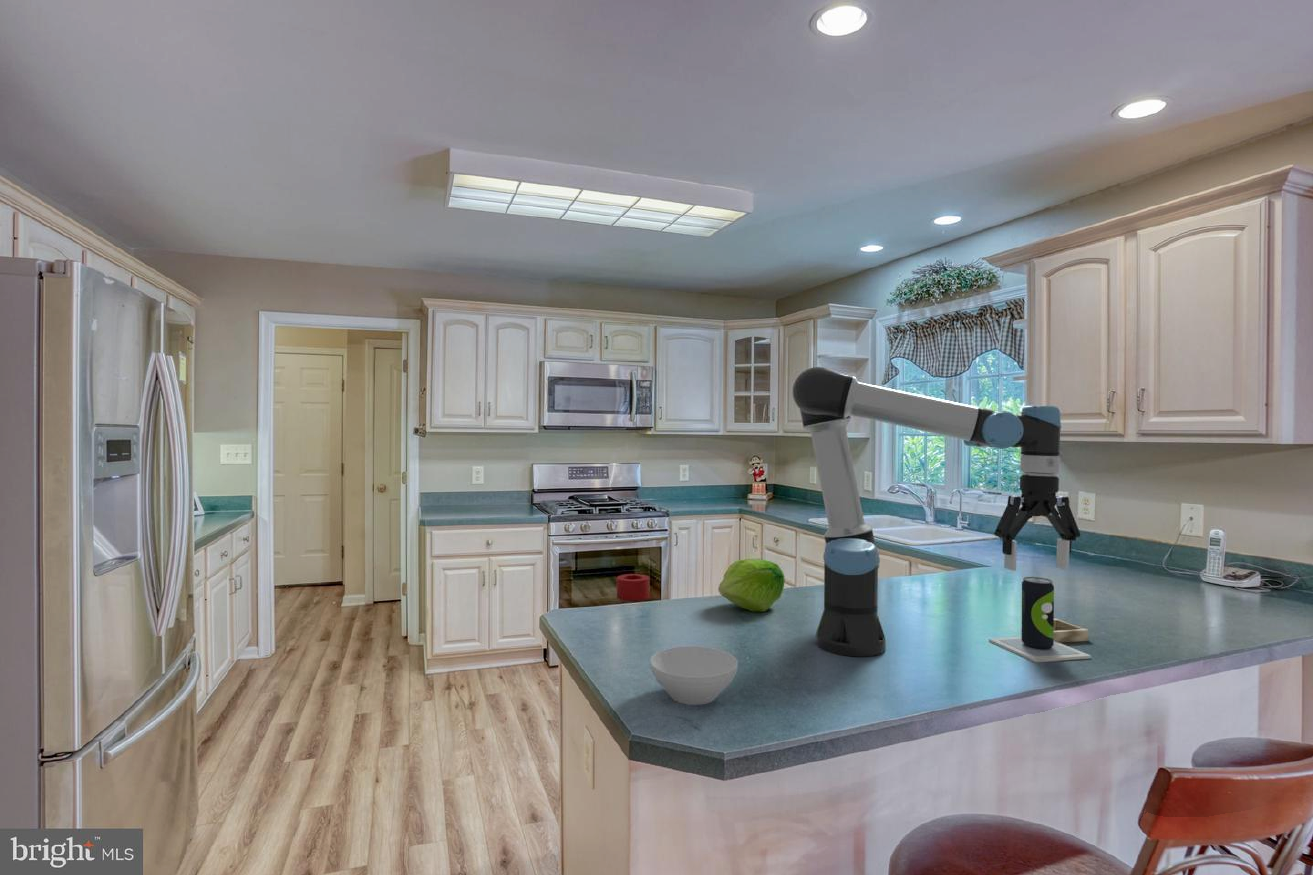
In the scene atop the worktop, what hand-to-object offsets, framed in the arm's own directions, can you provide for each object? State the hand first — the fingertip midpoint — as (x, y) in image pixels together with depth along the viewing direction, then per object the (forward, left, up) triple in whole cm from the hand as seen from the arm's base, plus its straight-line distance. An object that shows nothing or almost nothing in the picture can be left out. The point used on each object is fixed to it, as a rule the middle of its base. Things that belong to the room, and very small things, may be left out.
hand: (1036, 568), depth 143 cm
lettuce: (-52, +43, -18) cm, 70 cm away
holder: (+12, +8, -18) cm, 23 cm away
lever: (-82, +62, -19) cm, 104 cm away
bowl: (-83, -12, -18) cm, 86 cm away
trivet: (0, 0, -18) cm, 18 cm away
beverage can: (0, 0, -18) cm, 18 cm away
